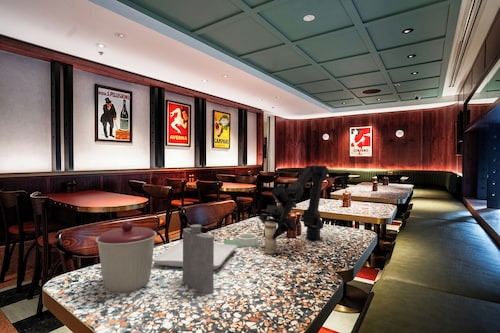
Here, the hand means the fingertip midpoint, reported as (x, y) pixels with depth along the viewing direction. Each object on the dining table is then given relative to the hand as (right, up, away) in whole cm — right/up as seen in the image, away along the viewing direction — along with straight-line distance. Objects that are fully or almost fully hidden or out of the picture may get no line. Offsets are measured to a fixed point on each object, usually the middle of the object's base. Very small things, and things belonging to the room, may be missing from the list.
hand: (268, 237), depth 122 cm
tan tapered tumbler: (+1, -7, +1) cm, 7 cm away
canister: (-48, -8, -32) cm, 58 cm away
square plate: (-30, -8, -7) cm, 31 cm away
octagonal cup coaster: (-12, -7, +15) cm, 21 cm away
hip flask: (-25, -8, -32) cm, 42 cm away
